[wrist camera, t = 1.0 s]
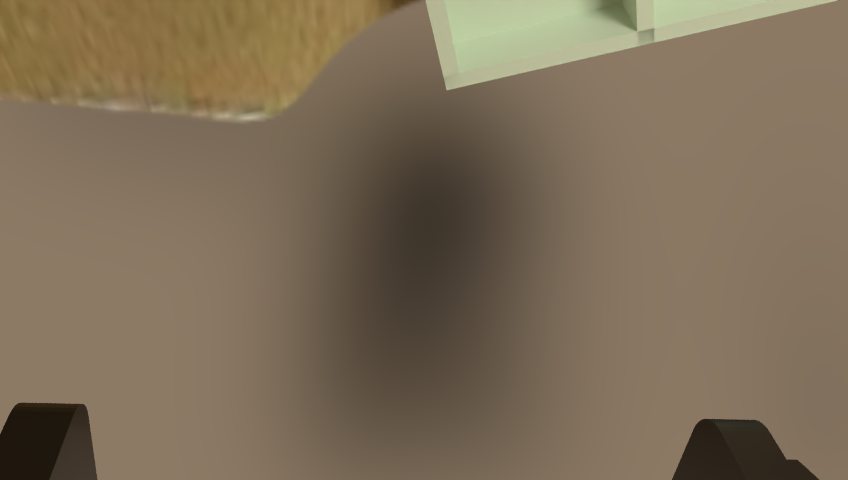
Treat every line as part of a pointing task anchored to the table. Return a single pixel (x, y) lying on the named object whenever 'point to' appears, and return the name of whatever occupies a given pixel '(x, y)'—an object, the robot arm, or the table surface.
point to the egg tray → (570, 30)
